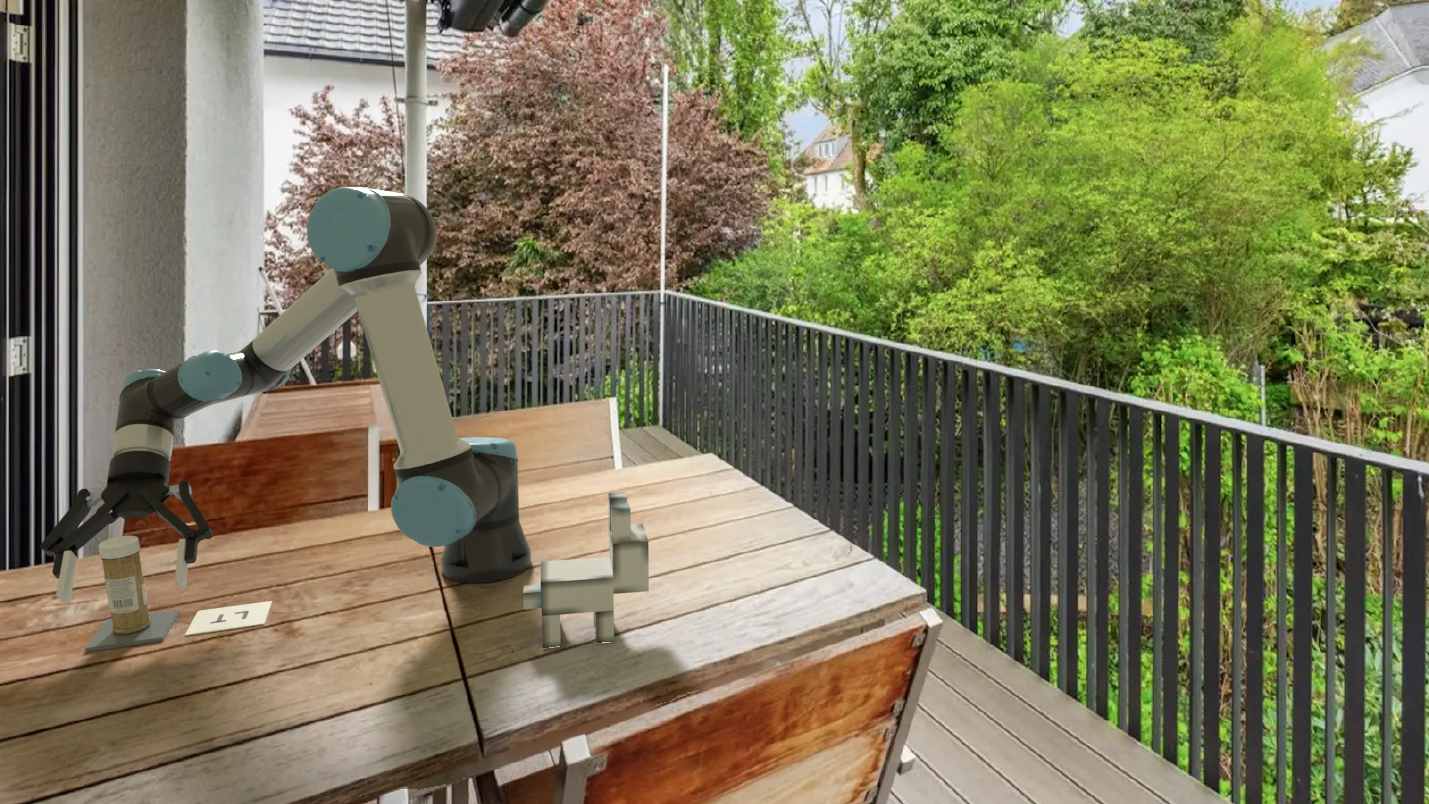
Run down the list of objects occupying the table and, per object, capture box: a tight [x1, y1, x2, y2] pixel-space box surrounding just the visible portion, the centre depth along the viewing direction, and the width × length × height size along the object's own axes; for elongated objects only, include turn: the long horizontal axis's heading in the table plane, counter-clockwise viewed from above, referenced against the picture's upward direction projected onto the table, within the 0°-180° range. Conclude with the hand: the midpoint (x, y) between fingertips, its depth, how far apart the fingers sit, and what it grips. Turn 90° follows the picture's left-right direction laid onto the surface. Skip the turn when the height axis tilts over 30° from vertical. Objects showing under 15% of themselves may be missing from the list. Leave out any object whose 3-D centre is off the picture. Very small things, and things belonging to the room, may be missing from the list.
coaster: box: [84, 609, 180, 653], centre depth 112 cm, size 9×9×1 cm
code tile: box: [184, 600, 273, 637], centre depth 117 cm, size 10×8×1 cm
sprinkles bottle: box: [98, 535, 151, 634], centre depth 111 cm, size 5×5×14 cm
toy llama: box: [522, 492, 650, 649], centre depth 112 cm, size 8×18×20 cm, turn 102°
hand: (123, 591), depth 109 cm, fingers open, 13 cm apart
